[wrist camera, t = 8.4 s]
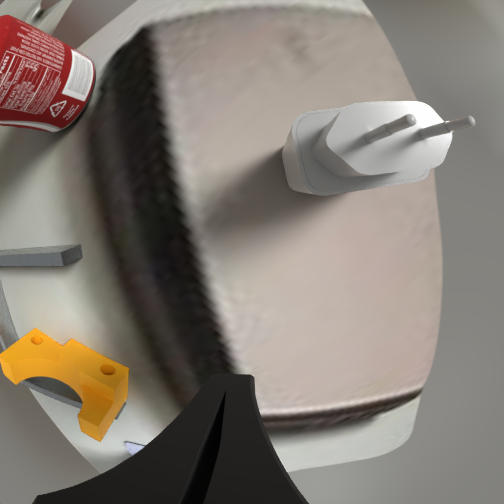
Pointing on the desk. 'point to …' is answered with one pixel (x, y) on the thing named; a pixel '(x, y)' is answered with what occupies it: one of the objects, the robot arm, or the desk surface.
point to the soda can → (41, 78)
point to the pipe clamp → (72, 376)
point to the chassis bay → (3, 327)
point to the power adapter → (366, 146)
